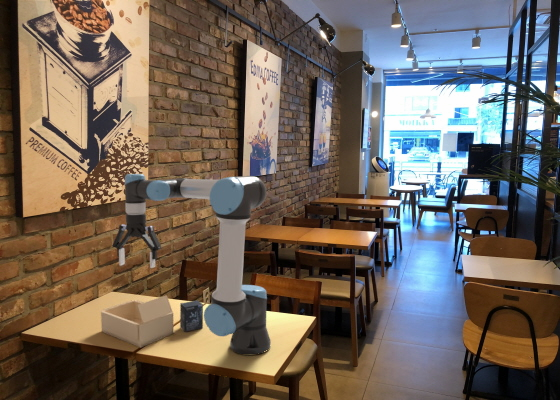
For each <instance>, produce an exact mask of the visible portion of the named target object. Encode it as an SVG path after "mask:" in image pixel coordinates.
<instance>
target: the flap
mask: <svg viewBox="0 0 560 400" xmlns="http://www.w3.org/2000/svg"><path fill="white" fill-rule="evenodd" d="M137 307H138V310H139V313H140V316H141V319H142V322H143V323H145V322H148V321H151V320H153V319H156V318H158V317H161V316H164V315H166V314H169V313H171V312H172V311H173V309H172V306H171V304H170V301H169V297H168V295H163V296H160V297H157V298H154V299H152V300H151V299H150V300H149V301H145V303H142V304H139V305H137Z"/></svg>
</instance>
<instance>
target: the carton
mask: <svg viewBox="0 0 560 400" xmlns="http://www.w3.org/2000/svg"><path fill="white" fill-rule="evenodd" d="M145 302H146V301H145ZM145 302H144V301H141V300H139V299H134V300H128V301H126V302H125V301H124V302H122V303H119V304H116V305H112V306H109V307H107V308H103V309H102V310H101V311H100V316H101V317H100V319H101V320H100V321H101V333H104V334H106V335H108V336H111V337H114V338H116V339H119V340H121V341H123V342H126V343H128V344H131V345H132V346H136V347H138V348H143V347H145V346H146V347H147V346H148V345H150V344H152V343H153V344H154V342H157V341H159V340H161V339H164V338H167V337H168V336H170V335H173V334H174V332H175V331H174V311H173V310H172V312H171V313H169V314H166V315H164V316H161V317H158V318H156V319H153V320H151V321H148V322H145V323H143V322H142V319H141V316H140V313H139V310H138V307H137V305H139V304H142V303H145Z"/></svg>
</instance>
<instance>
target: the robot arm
mask: <svg viewBox="0 0 560 400" xmlns="http://www.w3.org/2000/svg"><path fill="white" fill-rule="evenodd" d="M267 191H268V190H267V187H266V185H265V182H263V180H262V179H261V178H259V177H257V176H253V175H246V176H245V175H244V176H228V177H223V178H221V179H206V178H205V179H204V178H202V179H199V178H198V179H197V178H196V179H195V178H184V177H178V178H169V179H168V178H166V179H152V180H151V179H148V180H147V179H146V176H145V174H142V173H128V174H126V175H125V176H124V196H125V213H126V215H125V223H126V224H119V226H118V232H117V234H116V236H115V239H114V241H113V243H112V246H111V247H112V248H114V249H116V250H117V251H116V252H117V255H116V256H117V257H118V264H119V266H120V267H121V266H123V265H125V264H126V261H125V259H126V255H125V248H124V246H125V245H126V243H127V242H128V241H129V240H130V239H131V237H132V238H134V237H135V238H140V239H142V240H143V242H144V243H145V244H146V245H147V247H148V248H149V249H150V251H149V269H153V268H155V267H156V260H157V258H158V254H157V253H158V251H160V250H162V246H161V243H160V241H159V239H158V237H157V234H156V232H155V229H154V225H150V226H147V225H146V223H147V214H146V209H147V208H146V204H147V203H146V200H147V201H153V202H158V201H165V200H167V199H173V198H174V199H175V198H180V199H181V198H182V199H184V198H186V199H187V198H188V199H201V200H202V199H203V200H209V204H210V206H212V210H213V211H214V212H215V218H216V219H217V220H218V221H219V237H218V254H217V255H218V257H217V273H216V274H217V275H216V276H217V277H216V289H215V290H214V291H213V292H212V293H211V303H210V304H208V306H207V307H206V308H205V310H203V321H204V322H205V325H206V327H208V329H209V330H210V332H211V333H212V334H214V335H215V336H218V337H227V336H229V335H231V339H230V343H229V345H230V347H231V348H230V349H232V350H233V352H234V351H235V352H234V353H236V352H237V353H236V354H238V353H240V354H239V355H242V354H258V353H262V352H264V351H266V350H268V349H269V348H270V349H271V346H270V345H271V341H272V340H271V337H270V334H269V331H268V328H267V308H268V307H267V305H268V304H267V303H268V301H267V300H268V297H267V296H268V295H267V290H266V289H265V288H264V287H262V286H260V285H259V286H258V285H253V284H243V277H244V275H243V273H244V256H245V255H244V254H245V239H246V223H247V222H248V221H250V220H251V219H252V218H251V214H252V210H253V209H256V208H258V207H260V206H261V205H263V203H264V202H265V200H266V198H267V193H268V192H267ZM125 231H127V232H126V233H125ZM124 234H125V235H124ZM270 349H269V350H270ZM232 350H231V351H232ZM269 350H268V351H269ZM266 352H267V351H266ZM264 353H265V352H264ZM262 354H263V353H262ZM258 355H259V354H258Z"/></svg>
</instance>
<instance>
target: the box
mask: <svg viewBox="0 0 560 400" xmlns="http://www.w3.org/2000/svg"><path fill="white" fill-rule="evenodd" d="M179 306H180V310H179V311H180V312H179V313H180V315H179V317H180V318H179V321H180V322H179V323H180V324H179V325H180V326H179V327H180V329H181V330H182V331H183V332H185V333H187V332H191V331H196V330H200V329H203V328H204V327H203V326H204V322H203V321H204V304H203V303H202V302H200V300H199V299H198V300H192V301H187V302H181V303H180V305H179Z"/></svg>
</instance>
